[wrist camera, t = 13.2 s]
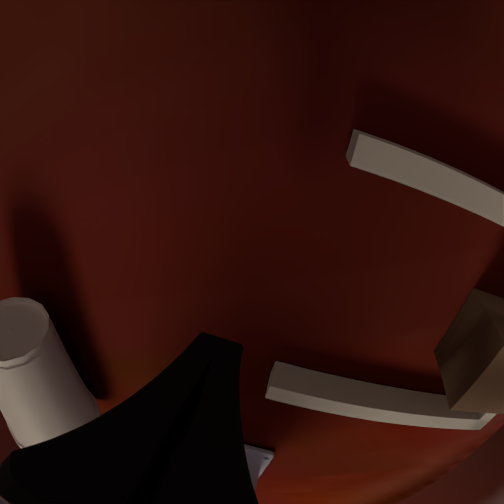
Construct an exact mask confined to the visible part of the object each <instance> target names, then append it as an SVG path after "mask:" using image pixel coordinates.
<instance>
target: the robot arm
mask: <svg viewBox="0 0 504 504" xmlns="http://www.w3.org/2000/svg"><path fill="white" fill-rule="evenodd" d="M242 352H243V346H242V345H241V344H239V343H236V342H232V341H229V340H226V339H223V338H219V337H216V336H213V335H210V334H207V333H204V332H202V333H200V334H199V335H198V336H197V337H196V338H195V339H194V341H193V342H192V343H191V344H190V345H189V346H188V347H187V348H186V349H185V350H184V351H183V352H182V353H181V354H180V355H179V356H178V357H177V358H176V359H175V360H174V361H173V362H172V363H171V364H170V365H169V366H168V367H167V368H166V369H164V370H163V371H162V372H161V373H160V374H159V375H158V376H157V377H155V378H154V379H153V380H152V381H150V382H149V383H148V384H147V385H145V386H144V387H143V388H141V389H140V390H139V391H138V392H136V393H135V394H134V395H132V396H131V397H129V398H128V399H126V400H125V401H123V402H122V403H121V404H119V405H117V406H116V407H114V408H113V409H111V410H109V411H108V412H106V413H104V414H103V415H101V416H99V417H97V418H95V419H94V420H92V421H90V422H88V423H86V424H84V425H82V426H80V427H78V428H76V429H73V430H71V431H69V432H67V433H64V434H62V435H59V436H57V437H55V438H52V439H50V440H47V441H44V442H41V443H38V444H34V445H31V446H28V447H25V448H21V449H18V450H14V451H12V452H11V454H10V455H9V456H8V457H7V458H6V459H5V460H4V461H3V462H2V464H1V465H0V495H1V496H2V497H3V498H4V499H6V500H7V501H8V502H9V503H11V504H258V501H257V498H256V494H255V488H256V484H257V480H258V478H259V477H260V475H261V474H262V472H263V471H264V470H265V468H266V467H267V466H268V464H269V463H270V461H271V460H272V459H273V457H274V452H272V451H270V450H265V449H261V448H257V447H253V446H249V445H246V444H244V442H243V435H242V426H241V417H240V400H239V374H240V362H241V356H242ZM3 498H1V497H0V504H9V503H7V502H6V501H5V500H4V499H3Z"/></svg>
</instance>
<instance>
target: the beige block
mask: <svg viewBox="0 0 504 504" xmlns="http://www.w3.org/2000/svg"><path fill="white" fill-rule="evenodd" d="M434 353H435V356H436V360H437V363H438V366H439V370H440V374H441V377H442V381H443V385H444V389H445V393H446V397H447V401H448V405H449V409H450V410H455V411H466V412H478V413H494V414H504V298H501V297H498V296H495V295H492V294H489V293H487V292H484V291H481V290H478V289H475V288H473V290H472V292H471V293H470V295H469V297H468V298H467V300H466V302H465V304H464V305H463V307H462V309H461V310H460V312H459V313H458V315H457V317H456V318H455V320H454V321H453V323H452V325H451V326H450V328H449V329H448V331H447V332H446V334H445V335H444V337H443V338H442V340H441V341H440V343H439V344H438V346H437V347H436V348H435V350H434Z"/></svg>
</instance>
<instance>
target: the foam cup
mask: <svg viewBox="0 0 504 504" xmlns="http://www.w3.org/2000/svg"><path fill="white" fill-rule="evenodd" d="M0 410H1V412H2V414H3V416H4V418H5V420H6V422H7V426H8V428H9V430H10V432H11V434H12V436H13V438H14V440H15V441H16V443H17V444H18V446H19V447H20V448H25V447H28V446H31V445H34V444H38V443H41V442H44V441H47V440H50V439H52V438H55V437H57V436H59V435H62V434H64V433H67V432H69V431H71V430H73V429H76V428H78V427H80V426H82V425H84V424H86V423H88V422H90V421H92V420H94V419H95V418H97V417H99V416H101V412H100V410H99V407H98V404H97V401H96V399H95V397H94V396H93V395H92V394H91V392H90V391H89V390H88V389H87V387H86V386H85V384H84V382H83V381H82V379H81V377H80V375H79V374H78V372H77V370H76V368H75V366H74V364H73V363H72V361H71V359H70V357H69V355H68V353H67V351H66V349H65V347H64V345H63V343H62V341H61V339H60V337H59V335H58V333H57V331H56V329H55V327H54V325H53V322H52V321H51V319H50V317H49V314H48V313H47V311H46V310H45V308H44V307H43V305H42V304H40V303H38V302H36V301H34V300H32V299H30V298H20V297H12V298H9V299H5V300H1V301H0Z"/></svg>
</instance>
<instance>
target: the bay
mask: <svg viewBox="0 0 504 504" xmlns="http://www.w3.org/2000/svg"><path fill="white" fill-rule="evenodd" d="M346 158H347V160H348V162H349V165H350V166H352V167H355V168H359V169H362V170H365V171H368V172H371V173H374V174H377V175H379V176H382V177H385V178H388V179H391V180H394V181H396V182H399V183H402V184H405V185H407V186H410V187H413V188H415V189H418V190H421V191H423V192H426V193H428V194H431V195H433V196H436V197H438V198H441V199H443V200H446V201H448V202H451V203H453V204H455V205H458V206H460V207H462V208H465V209H467V210H469V211H471V212H474V213H476V214H478V215H480V216H483V217H485V218H487V219H489V220H491V221H493V222H495V223H497V224H500V225H502V226H504V192H503V191H501V190H499V189H497V188H495V187H493V186H491V185H490V184H488V183H486V182H484V181H482V180H480V179H478V178H476V177H473V176H471V175H469V174H467V173H465V172H463V171H461V170H459V169H456V168H454V167H452V166H450V165H448V164H445V163H443V162H441V161H438V160H436V159H434V158H431V157H429V156H427V155H424V154H422V153H419V152H417V151H414V150H412V149H409V148H407V147H404V146H401V145H399V144H396V143H393V142H391V141H388V140H385V139H382V138H379V137H376V136H374V135H371V134H368V133H365V132H362V131H359V130H356V129H353V133H352V136H351V140H350V143H349V147H348V150H347V154H346ZM265 398H267V399H271V400H275V401H279V402H283V403H287V404H291V405H295V406H300V407H304V408H308V409H313V410H318V411H323V412H327V413H333V414H338V415H343V416H349V417H354V418H360V419H367V420H373V421H380V422H387V423H395V424H403V425H412V426H422V427H434V428H448V429H468V430H480V429H481V428H482V427H483V426H484V425H485V424H487V423H488V422H489V421H490V420H491V419H492V418H493V417H494V416H495V415H496V414H494V413H478V412H466V411H455V410H450V409H449V405H448V401H447V397H446V395H439V394H432V393H425V392H419V391H413V390H406V389H401V388H395V387H389V386H384V385H378V384H373V383H368V382H363V381H358V380H354V379H349V378H344V377H340V376H335V375H331V374H326V373H322V372H318V371H314V370H310V369H306V368H302V367H298V366H294V365H290V364H286V363H282V362H279V361H275V363H274V366H273V368H272V371H271V373H270V378H269V382H268V386H267V391H266V395H265Z"/></svg>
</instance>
